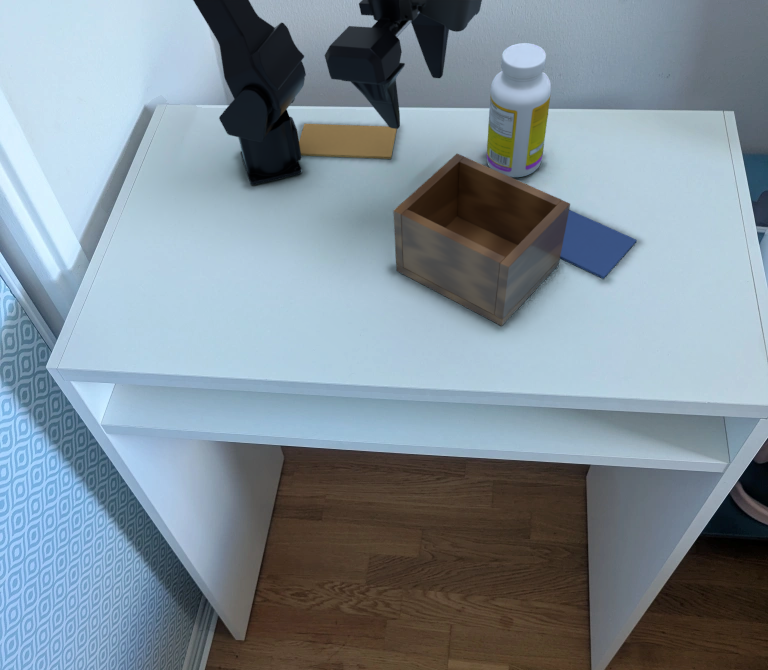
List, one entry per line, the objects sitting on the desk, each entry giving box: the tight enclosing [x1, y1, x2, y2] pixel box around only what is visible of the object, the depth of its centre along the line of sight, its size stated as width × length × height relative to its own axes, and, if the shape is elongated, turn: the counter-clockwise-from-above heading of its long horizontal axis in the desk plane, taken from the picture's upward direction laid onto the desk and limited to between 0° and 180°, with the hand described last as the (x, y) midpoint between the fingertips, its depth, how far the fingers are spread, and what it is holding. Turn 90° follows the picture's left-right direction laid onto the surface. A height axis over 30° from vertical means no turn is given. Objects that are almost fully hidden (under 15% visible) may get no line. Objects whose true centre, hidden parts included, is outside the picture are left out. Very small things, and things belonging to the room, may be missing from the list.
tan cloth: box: [299, 123, 398, 160], centre depth 95 cm, size 12×6×1 cm, turn 82°
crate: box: [392, 153, 571, 327], centre depth 80 cm, size 14×11×8 cm
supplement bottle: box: [486, 42, 552, 178], centre depth 86 cm, size 7×7×13 cm
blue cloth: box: [560, 209, 638, 280], centre depth 85 cm, size 12×7×1 cm, turn 51°
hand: (416, 101), depth 79 cm, fingers open, 9 cm apart
